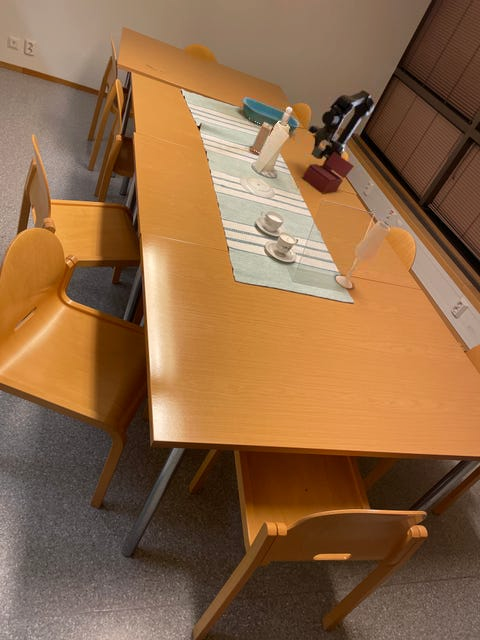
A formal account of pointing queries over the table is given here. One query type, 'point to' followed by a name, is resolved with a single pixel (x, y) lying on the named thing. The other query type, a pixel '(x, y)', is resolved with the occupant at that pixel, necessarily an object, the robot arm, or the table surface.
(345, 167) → the flap
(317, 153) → the block
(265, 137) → the supplement box
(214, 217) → the table surface
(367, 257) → the champagne flute
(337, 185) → the dark red open box
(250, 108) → the casserole dish
